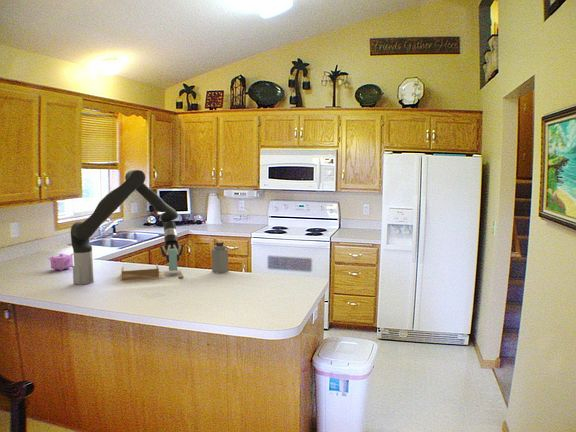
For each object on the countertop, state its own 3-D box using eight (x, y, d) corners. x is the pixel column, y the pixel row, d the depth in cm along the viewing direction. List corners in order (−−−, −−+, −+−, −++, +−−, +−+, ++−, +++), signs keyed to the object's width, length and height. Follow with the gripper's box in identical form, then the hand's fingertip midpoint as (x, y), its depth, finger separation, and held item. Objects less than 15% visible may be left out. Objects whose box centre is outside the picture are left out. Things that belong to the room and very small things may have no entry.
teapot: (56, 273, 264) (55, 257, 263) (42, 271, 270) (41, 255, 269) (82, 267, 280) (82, 252, 279) (68, 265, 286) (68, 250, 285)
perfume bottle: (220, 273, 264) (219, 243, 262) (212, 271, 268) (211, 242, 266) (228, 271, 270) (227, 241, 268) (220, 269, 274) (219, 240, 272)
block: (168, 269, 260) (168, 248, 259) (176, 268, 261) (176, 248, 260) (169, 270, 256) (168, 250, 254) (177, 270, 257) (176, 249, 256)
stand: (120, 276, 257) (119, 265, 256) (180, 271, 268) (180, 261, 267) (119, 283, 242) (118, 272, 241) (183, 278, 253) (183, 267, 252)
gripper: (158, 234, 261) (160, 258, 251) (183, 233, 266) (186, 257, 256) (158, 241, 267) (160, 266, 257) (182, 240, 271) (185, 264, 261)
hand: (173, 261), depth 256 cm, fingers closed on block, 4 cm apart
